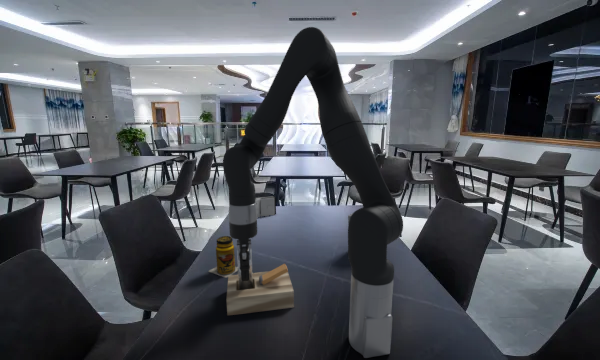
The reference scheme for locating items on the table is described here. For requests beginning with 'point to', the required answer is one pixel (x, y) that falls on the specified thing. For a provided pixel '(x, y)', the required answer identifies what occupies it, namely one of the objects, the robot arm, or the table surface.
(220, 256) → the condiment
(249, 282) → the steel peg
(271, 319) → the table surface
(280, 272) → the latch arm
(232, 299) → the birch block
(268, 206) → the hinge
